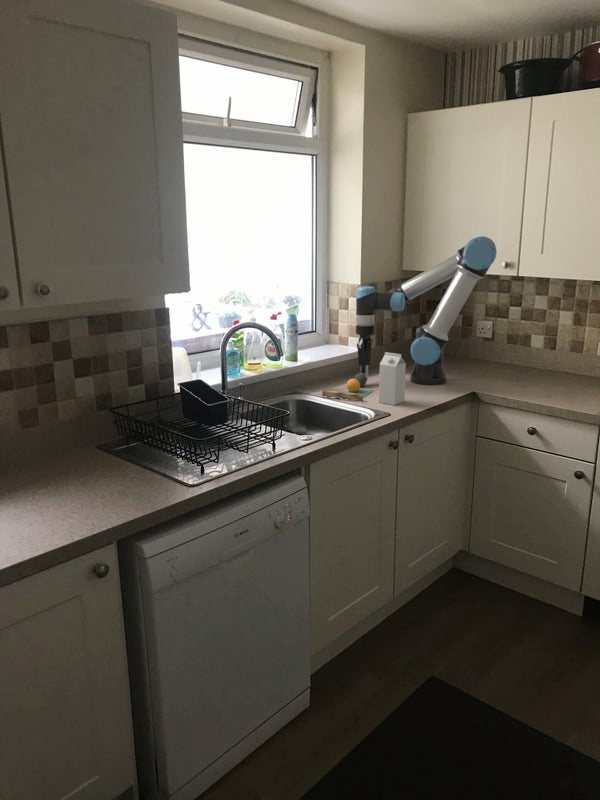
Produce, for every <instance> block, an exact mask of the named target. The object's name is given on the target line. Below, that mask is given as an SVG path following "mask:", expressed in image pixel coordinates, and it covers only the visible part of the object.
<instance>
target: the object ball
mask: <svg viewBox="0 0 600 800" xmlns="http://www.w3.org/2000/svg"><path fill="white" fill-rule="evenodd" d="M345 388H347V389H348V390H349V391H350V392H356V391H358V390H359V389H361V387H360V383H359V381H358V380H356V379H354V378H350V379H349V380H348V381H347V382H346V387H345Z"/></svg>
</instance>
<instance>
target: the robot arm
mask: <svg viewBox="0 0 600 800" xmlns="http://www.w3.org/2000/svg"><path fill="white" fill-rule="evenodd" d="M495 244H496V243H495V242H494V241H493V240H492V239H491V238H489V237H486V236H477V237H474V238H471V239H470V240H469V241H468V242H467V243H466V244H465V245H464V246H463V247H461V248H460V249H458V250H456V253H455V254H454V255H452V256H450V257H448V258H446V259H445V260H443V261H441V262H439V263H437V264H436V265H434V266H432V267H429V268H428V269H427V270H425V271H423V272H421V273H420V274H419V273H418V274H417V275H416V276H413V277H412V278H410V279H408V280H406V281H405V282H403V283H401V284H399V285H397V286H396V287H393V288H391V289H389V290H388V291H376V288H375V286H367V285H365V286H363V285H362V286H359V287H357V289H356V298H355V303H356V304H355V306H356V307H355V310H356V311H355V316H354V318H355V321H356V323H355V324H356V325H355V334H356V335H359V338H358V343H357V344H356V348H357V357H358V366H360V373H361V374H364V375H365V376H366V378H367V381H369V366H370V365H371V354H372V345H373V338H371V336H372V335H374V334H375V316H376V314H375V311H376V312H377V311H378V312H379V311H381V312H382V311H383V312H384V311H385V312H395V313H396V312H402V311H404V309H405V306H406V305H405V304H406V303H407V302H409V301H411V300H413V299H414V298H416V297H418V296H420V295H421V294H423V293H425V292H427V291H429V290H431V289H433V288H436V286H437V287H438V285H440V284H443V283H444V282H446V281H449V280H450V279H452V280H451V282H450V283H449V285H448V287H447V289H446V291H445V292H444V294H443V296H442V298H441V300H440V302H439V304H438V305H437V306H436V308H435V310H434V312H433V314H432V315H431V317H430V320H429V321H428V323H427V324H425V325H422V326H421V327H417V328H416V330H415V331H416V332H415V339H414V341H412V343H411V345H410V355H411V357H412V360H413V361H414V365H413V367H412V369H411V373H410V375H409V378H410V382H412V383H414V384H419V385H426V386H427V385H428V386H429V385H430V386H434V385H435V386H436V385H442V384H445V383H446V382H447V374H446V370H445V368H444V348H445V346H446V345H447V343H448V341H449V337H448V333H449V332H450V329H451V328H452V326H453V325H454V323H455V322H456V319H457V318H458V315H459V313H460V312H461V310H462V308H463V306H464V305H465V304H466V301H467V300H468V298H469V296H470V295H471V293H472V292H473V289H474V288H475V286H476V283H477V282H478V281H479V280H482V279H484V278H485V276H486V274H487V273H488V272H489V270H490V267H491V266H492V265H493V263H494V262H495V260H496V258H497V246H496V245H495Z"/></svg>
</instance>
